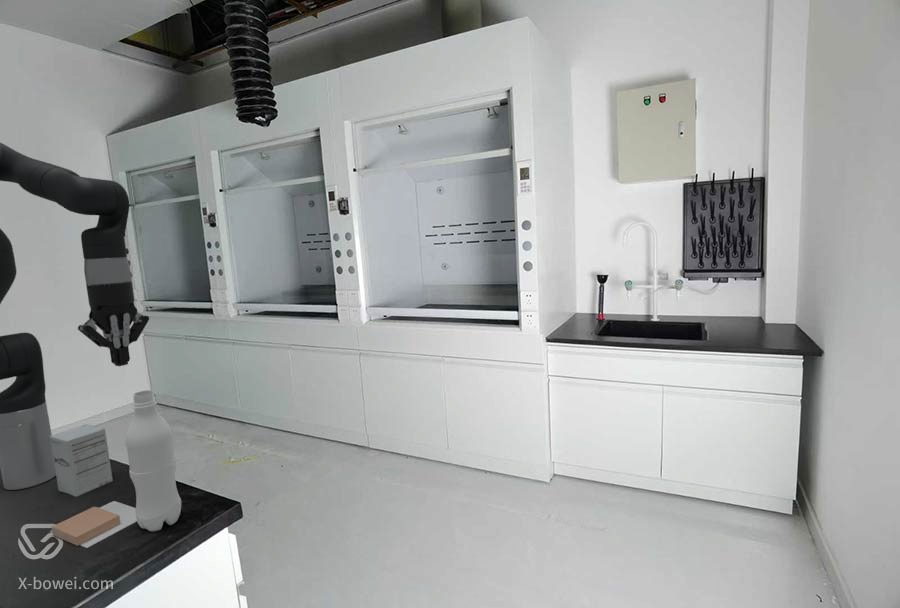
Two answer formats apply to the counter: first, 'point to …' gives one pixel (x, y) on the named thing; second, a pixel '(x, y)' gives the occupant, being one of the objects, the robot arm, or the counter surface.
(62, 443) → the supplement box
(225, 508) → the counter surface
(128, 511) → the mat
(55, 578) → the counter surface
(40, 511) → the counter surface
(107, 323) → the robot arm
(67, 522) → the tile
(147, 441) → the water bottle
